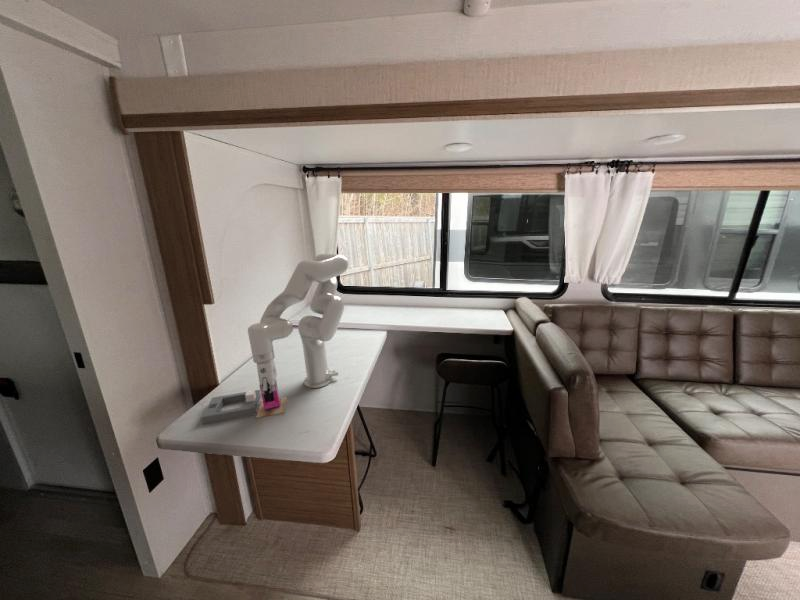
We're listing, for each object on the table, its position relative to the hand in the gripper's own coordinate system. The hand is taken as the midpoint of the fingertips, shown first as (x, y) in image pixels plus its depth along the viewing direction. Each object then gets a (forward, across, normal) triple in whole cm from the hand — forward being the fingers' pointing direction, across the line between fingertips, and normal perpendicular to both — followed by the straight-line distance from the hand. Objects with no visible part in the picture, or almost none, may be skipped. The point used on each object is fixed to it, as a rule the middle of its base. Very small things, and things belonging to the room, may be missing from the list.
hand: (270, 396), depth 117 cm
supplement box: (+4, 0, 0) cm, 4 cm away
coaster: (+5, 0, 0) cm, 5 cm away
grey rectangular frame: (+5, +4, +15) cm, 17 cm away
